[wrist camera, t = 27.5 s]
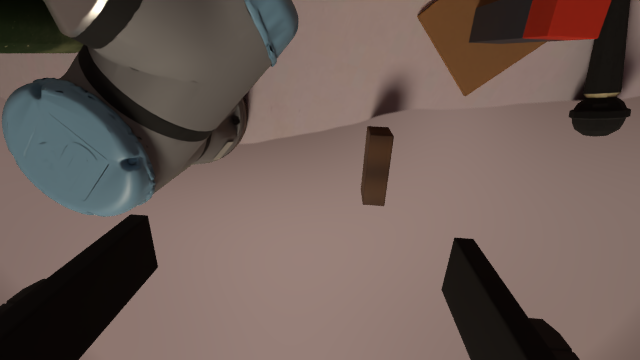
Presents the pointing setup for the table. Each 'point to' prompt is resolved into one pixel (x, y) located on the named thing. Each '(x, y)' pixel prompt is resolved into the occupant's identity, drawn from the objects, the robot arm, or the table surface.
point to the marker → (538, 21)
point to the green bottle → (31, 29)
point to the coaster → (468, 44)
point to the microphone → (605, 77)
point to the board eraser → (376, 165)
